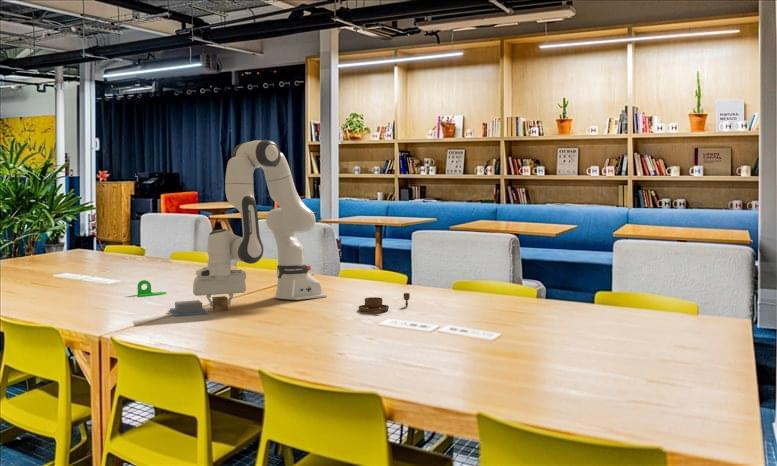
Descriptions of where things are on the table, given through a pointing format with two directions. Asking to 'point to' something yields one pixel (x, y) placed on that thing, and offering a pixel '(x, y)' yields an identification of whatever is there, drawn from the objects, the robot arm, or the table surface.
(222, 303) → the walnut cube
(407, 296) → the place setting
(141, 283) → the mechanical part
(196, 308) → the base
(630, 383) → the table surface
